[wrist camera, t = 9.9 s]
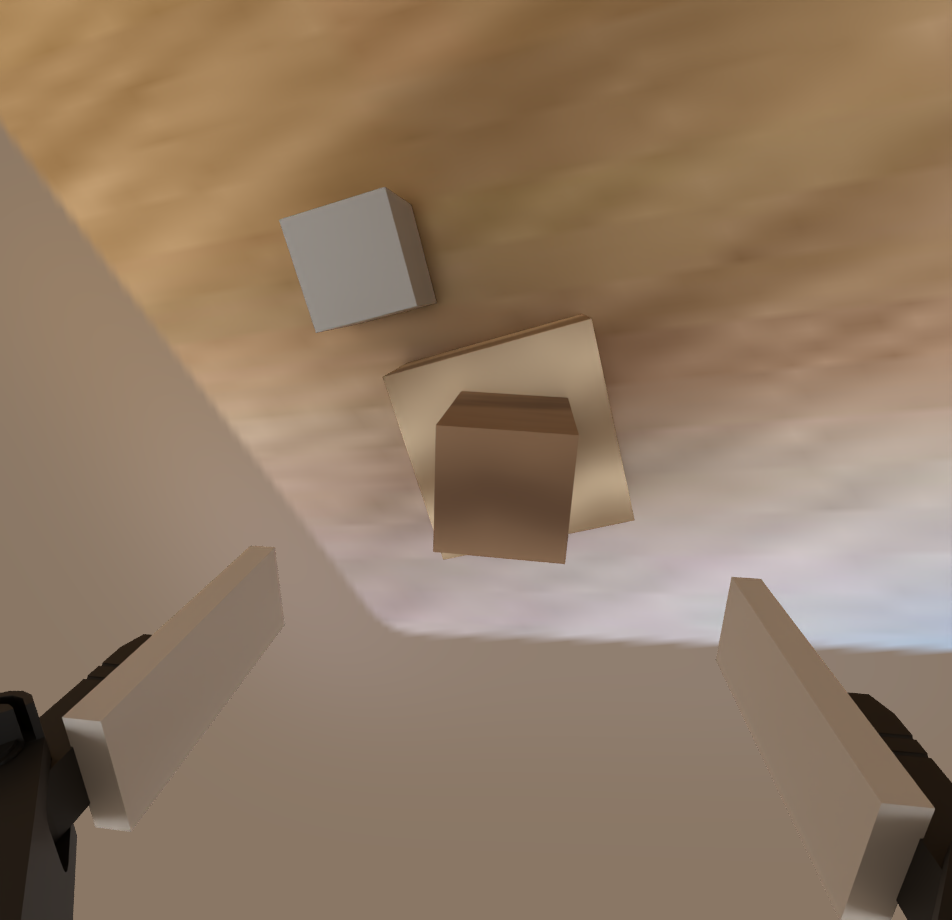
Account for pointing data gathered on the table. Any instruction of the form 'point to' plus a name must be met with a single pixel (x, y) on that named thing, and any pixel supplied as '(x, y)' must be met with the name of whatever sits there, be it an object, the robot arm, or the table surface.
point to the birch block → (523, 373)
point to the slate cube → (359, 259)
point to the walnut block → (505, 476)
